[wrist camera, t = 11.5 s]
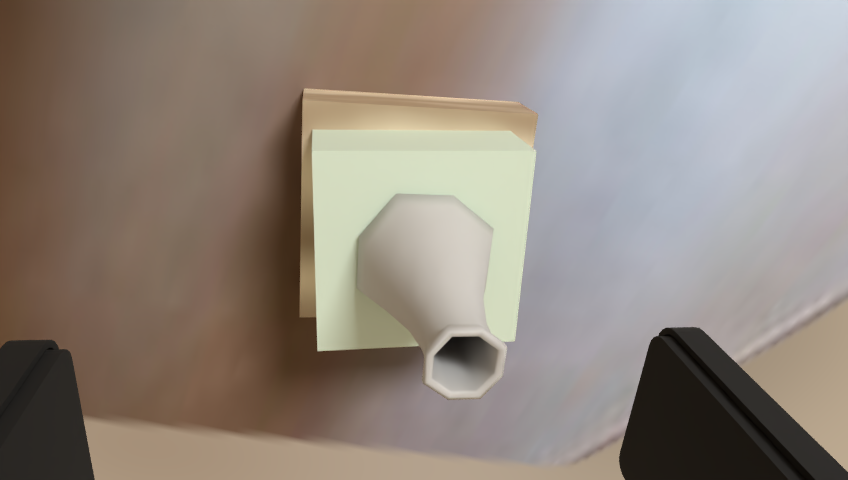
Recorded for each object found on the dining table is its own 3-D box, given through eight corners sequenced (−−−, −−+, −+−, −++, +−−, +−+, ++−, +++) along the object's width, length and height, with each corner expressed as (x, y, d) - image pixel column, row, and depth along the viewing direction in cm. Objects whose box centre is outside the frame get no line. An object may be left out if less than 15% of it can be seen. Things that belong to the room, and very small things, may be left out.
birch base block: (304, 86, 36) (302, 100, 32) (514, 100, 39) (538, 114, 35) (301, 284, 41) (299, 317, 37) (488, 285, 44) (506, 316, 40)
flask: (458, 332, 34) (507, 460, 25) (333, 294, 32) (339, 420, 23) (515, 216, 32) (592, 311, 23) (385, 168, 30) (414, 252, 21)
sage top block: (312, 129, 33) (311, 150, 29) (510, 130, 35) (536, 151, 31) (317, 310, 37) (317, 351, 33) (494, 303, 39) (514, 341, 35)
